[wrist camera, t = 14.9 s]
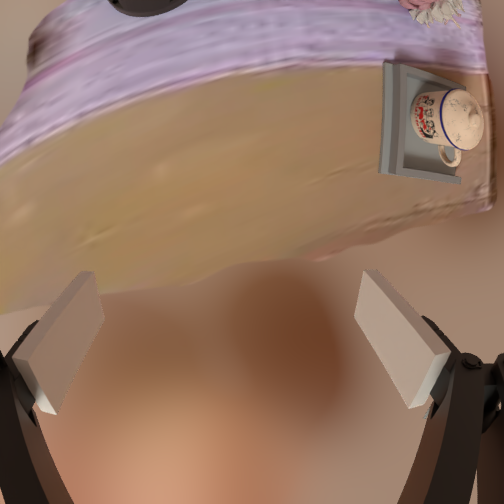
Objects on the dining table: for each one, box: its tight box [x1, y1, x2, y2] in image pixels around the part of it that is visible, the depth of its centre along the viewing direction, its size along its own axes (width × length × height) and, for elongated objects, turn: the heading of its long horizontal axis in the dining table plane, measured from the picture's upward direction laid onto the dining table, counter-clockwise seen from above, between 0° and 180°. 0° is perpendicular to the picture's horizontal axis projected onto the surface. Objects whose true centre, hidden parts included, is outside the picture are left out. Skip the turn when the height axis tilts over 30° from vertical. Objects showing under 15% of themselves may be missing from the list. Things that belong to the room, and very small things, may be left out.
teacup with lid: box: [410, 88, 484, 167], centre depth 34 cm, size 12×9×12 cm
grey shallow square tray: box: [378, 62, 466, 184], centre depth 39 cm, size 18×16×3 cm
